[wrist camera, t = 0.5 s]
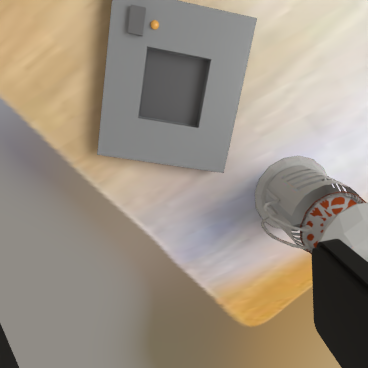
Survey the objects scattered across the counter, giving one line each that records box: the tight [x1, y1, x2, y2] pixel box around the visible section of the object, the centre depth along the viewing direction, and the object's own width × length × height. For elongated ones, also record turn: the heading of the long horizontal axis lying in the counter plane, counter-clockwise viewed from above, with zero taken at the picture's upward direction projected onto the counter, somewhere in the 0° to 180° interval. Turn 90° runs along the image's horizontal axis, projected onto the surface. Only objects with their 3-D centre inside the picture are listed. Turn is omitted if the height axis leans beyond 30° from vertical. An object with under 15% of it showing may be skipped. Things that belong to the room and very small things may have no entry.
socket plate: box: [97, 0, 257, 173], centre depth 33 cm, size 16×14×3 cm
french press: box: [255, 156, 368, 262], centre depth 27 cm, size 10×12×25 cm
